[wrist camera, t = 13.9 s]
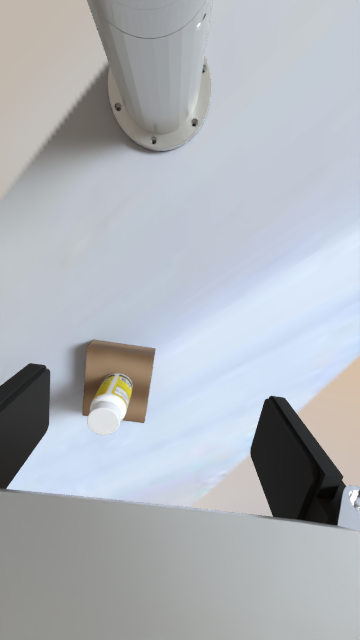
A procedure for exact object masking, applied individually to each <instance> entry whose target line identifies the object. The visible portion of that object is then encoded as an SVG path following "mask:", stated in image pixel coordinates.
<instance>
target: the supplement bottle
mask: <svg viewBox="0 0 360 640" xmlns="http://www.w3.org/2000/svg"><path fill="white" fill-rule="evenodd" d="M132 390H133V385H132V382H131V380H130V379H129V378H128V377H127V376H126V375H124V374H120V373H113V374H110V375H108V376H107V377H106V378H105V379H104V380H103V382H102V384H101V386H100V388H99V390H98V391H97V393H96V395H95V397H94V399H93V401H92V403H91V406H90V413H89V415H88V418H87V423H88V426H89V428H90V429H91V430H92V431H93V432H95V433H97V434H100V435H109V434H112V433H113V432H115V431H116V430H117V429H118V427H119V424H120V422H121V421H122V419H123V418H124V416H125V414H126V411H127V408H128V404H129V401H130V397H131V394H132Z"/></svg>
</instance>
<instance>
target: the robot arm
mask: <svg viewBox="0 0 360 640" xmlns="http://www.w3.org/2000/svg"><path fill="white" fill-rule="evenodd" d="M87 2H88V4H89V7H90V10H91V13H92V16H93V19H94V22H95V24H96V27H97V30H98V33H99V36H100V38H101V41H102V44H103V47H104V50H105V53H106V56H107V59H108V61H109V64H110V65H109V71H108V78H107V79H108V95H109V101H110V104H111V107H112V110H113V113H114V115H115V118H116V120H117V122H118V123H119V125H120V126H121V128H122V130H123V131H124V132H125V133H126V134H127V135H128V136H129V137H130V138H131V139H132V140H133V141H135V142H136V143H137V144H139V145H141V146H143V147H145V148H147V149H151V150H155V151H167V150H172V149H175V148H178V147H180V146H182V145H184V144H185V143H187V142H188V141H190V140H191V139H192V138H193V137H194V136H195V135H196V133H197V132H198V131H199V129H200V128H201V126H202V125H203V123H204V120H205V118H206V116H207V113H208V109H209V105H210V100H211V94H212V81H211V74H210V69H209V66H208V63H207V59H206V57H205V50H206V43H207V36H208V30H209V23H210V17H211V10H212V3H213V0H87ZM202 72H203V73H202ZM118 109H121V110H120V111H118ZM193 124H195V125H196V127H194V126H192V125H193ZM153 141H155V142H156V144H152V142H153ZM49 400H50V370H49V369H46V366H45V365H39V364H32V363H30V364H28V365H27V366H26V367H24V368H23V369H22V370H20V371H19V372H18V373H17V374H15V375H14V376H13V377H11V378H10V379H9V380H7V381H6V382H5V383H4V384H2V385H1V386H0V640H360V487H359V486H351V485H350V486H347V487H346V485H345V484H344V483H343V481H342V479H343V476H342V474H341V473H340V471H339V470H338V469H337V467H336V466H335V465H334V464H333V462H332V461H331V460H330V458H329V457H328V456H327V454H326V453H325V451H324V450H323V449H322V447H321V446H320V445H319V443H318V442H317V441H316V439H315V438H314V437H313V435H312V434H311V433H310V431H309V430H308V429H307V427H306V426H305V424H304V423H303V422H302V421H301V419H300V418H299V416H298V415H297V414H296V412H295V411H294V410H293V408H292V407H291V406H290V404H289V403H288V402H287V400H286V399H285V398H282V397H275V396H270V397H269V399H266V400H265V401H264V405H263V408H262V411H261V415H260V418H259V422H258V425H257V429H256V432H255V436H254V439H253V442H252V446H251V458H252V461H253V463H254V466H255V469H256V472H257V474H258V477H259V480H260V482H261V485H262V488H263V491H264V493H265V496H266V499H267V501H268V504H269V507H270V510H271V512H272V515H273V517H270V516H261V515H252V514H243V513H234V512H225V511H217V510H208V509H198V508H189V507H180V506H171V505H161V504H152V503H142V502H132V501H123V500H113V499H103V498H93V497H83V496H73V495H62V494H52V493H42V492H32V491H21V490H10V489H6V488H7V487H8V485H9V484H10V482H11V481H12V480H13V478H14V477H15V475H16V474H17V473H18V471H19V470H20V468H21V467H22V465H23V464H24V463H25V461H26V460H27V458H28V457H29V456H30V454H31V453H32V451H33V450H34V449H35V447H36V446H37V444H38V443H39V442H40V440H41V439H42V437H43V436H44V435H45V433H46V431H47V429H48V426H49Z"/></svg>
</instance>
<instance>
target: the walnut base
mask: <svg viewBox="0 0 360 640" xmlns="http://www.w3.org/2000/svg"><path fill="white" fill-rule="evenodd" d="M154 355H155V348H148V347H141V346H134V345H127V344H120V343H113V342H106V341H99V340H93V341H92V342H91V343H90V344H89V345H88V346H87V355H86V370H85V385H84V400H83V415H84V416H88V415H89V413H90V406H91V403H92V401H93V399H94V397H95V395H96V393H97V391H98V390H99V388H100V386H101V384H102V382H103V380H104V379H105V378H106V377H107V376H108V375H110V374H113V373H120V374H124V375H126V376H127V377H128V378H129V379H130V380H131V382H132V385H133V390H132V394H131V397H130V401H129V404H128V408H127V411H126V414H125V416H124V418H123V419H122V420H124V421H132V422H140V423H144V421H145V416H146V410H147V403H148V396H149V389H150V382H151V376H152V369H153V362H154Z"/></svg>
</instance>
